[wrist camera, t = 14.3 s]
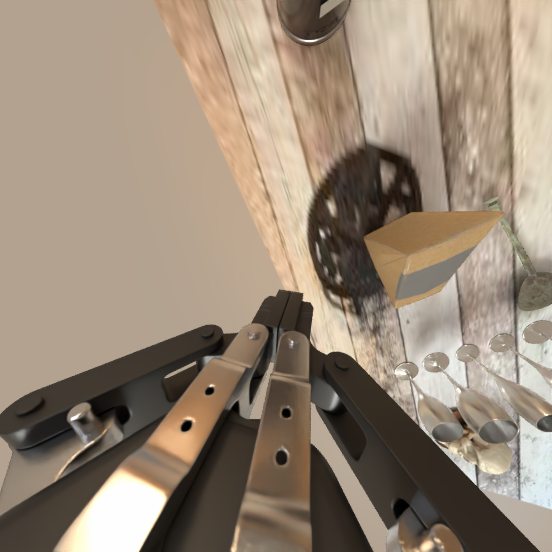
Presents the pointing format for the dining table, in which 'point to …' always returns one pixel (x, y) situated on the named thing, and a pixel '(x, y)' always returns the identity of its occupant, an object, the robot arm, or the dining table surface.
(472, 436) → the skull
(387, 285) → the sandwich container
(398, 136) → the dining table surface
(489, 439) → the goblet set
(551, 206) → the dining table surface
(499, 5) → the dining table surface
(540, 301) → the soupspoon
